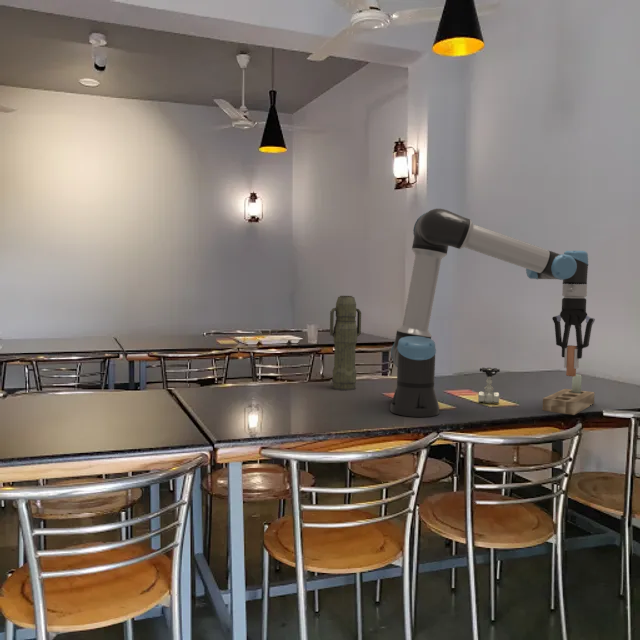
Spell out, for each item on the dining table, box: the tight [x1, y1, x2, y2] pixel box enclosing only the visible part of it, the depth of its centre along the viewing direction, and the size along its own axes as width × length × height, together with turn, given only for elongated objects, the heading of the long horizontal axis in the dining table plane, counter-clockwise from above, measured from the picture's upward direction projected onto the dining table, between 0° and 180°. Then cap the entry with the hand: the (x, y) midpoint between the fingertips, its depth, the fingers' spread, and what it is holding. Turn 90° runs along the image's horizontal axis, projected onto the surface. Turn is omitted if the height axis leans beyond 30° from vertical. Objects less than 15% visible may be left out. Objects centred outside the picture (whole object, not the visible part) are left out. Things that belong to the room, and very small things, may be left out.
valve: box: [478, 367, 501, 404], centre depth 217 cm, size 7×7×12 cm
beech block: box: [541, 388, 596, 416], centre depth 214 cm, size 10×24×4 cm, turn 143°
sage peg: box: [571, 373, 583, 394], centre depth 220 cm, size 3×3×10 cm
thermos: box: [329, 295, 362, 391], centre depth 240 cm, size 9×12×35 cm
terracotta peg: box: [565, 344, 577, 377], centre depth 213 cm, size 3×3×10 cm
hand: (571, 367), depth 213 cm, fingers closed on terracotta peg, 2 cm apart
